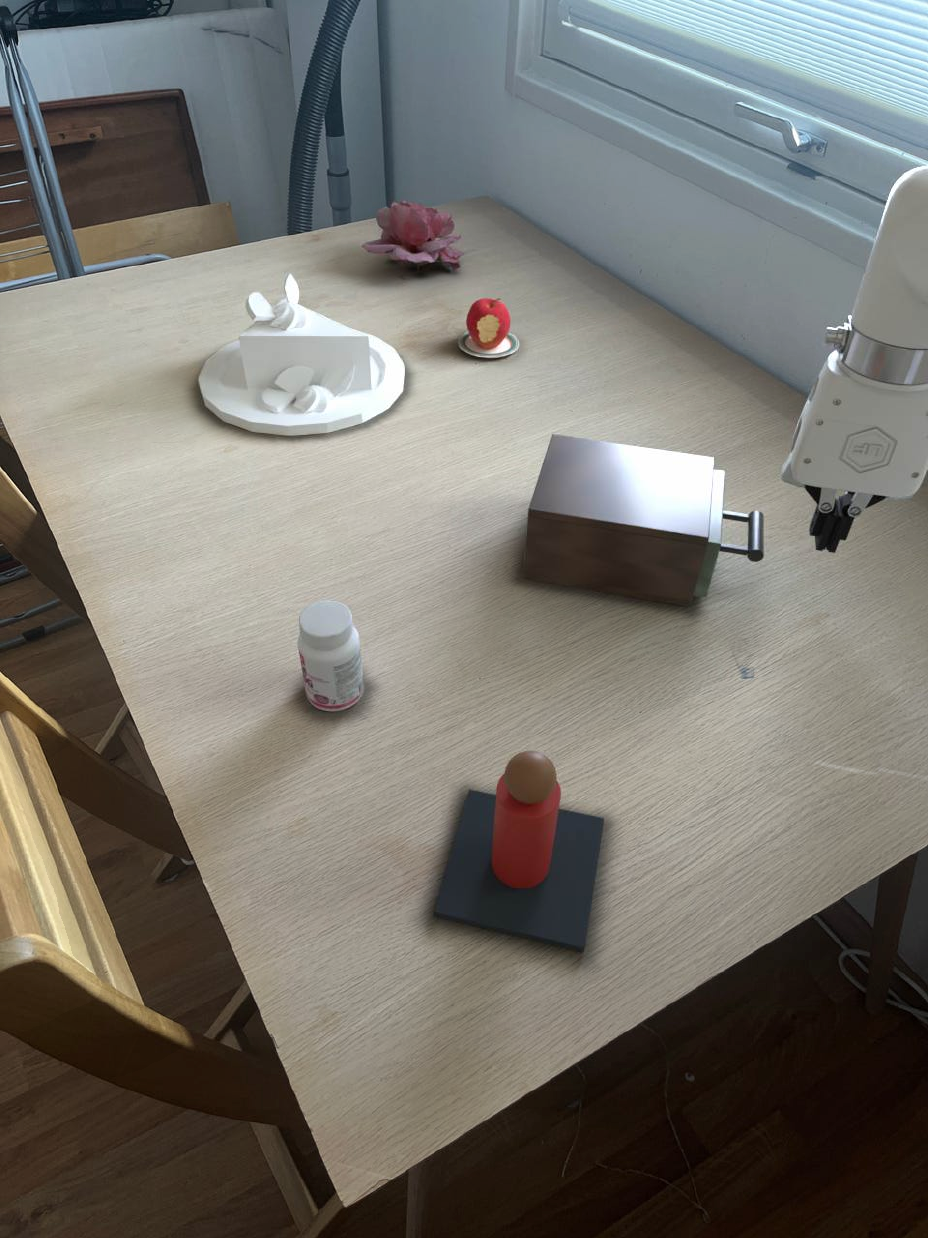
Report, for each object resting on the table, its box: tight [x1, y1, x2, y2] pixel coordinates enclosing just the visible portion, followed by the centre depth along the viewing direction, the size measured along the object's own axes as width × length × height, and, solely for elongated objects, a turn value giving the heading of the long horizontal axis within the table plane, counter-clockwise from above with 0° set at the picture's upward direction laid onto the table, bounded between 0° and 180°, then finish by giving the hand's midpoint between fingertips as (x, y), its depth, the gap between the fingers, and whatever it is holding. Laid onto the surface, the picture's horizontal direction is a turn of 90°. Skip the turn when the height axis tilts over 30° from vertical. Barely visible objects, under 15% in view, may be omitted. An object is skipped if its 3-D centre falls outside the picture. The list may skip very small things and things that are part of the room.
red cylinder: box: [491, 750, 562, 889], centre depth 56 cm, size 4×4×12 cm
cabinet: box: [522, 433, 715, 608], centre depth 83 cm, size 16×13×8 cm
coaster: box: [433, 789, 605, 953], centre depth 60 cm, size 10×10×1 cm
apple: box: [457, 297, 520, 359], centre depth 113 cm, size 8×8×6 cm
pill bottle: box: [297, 600, 365, 712], centre depth 69 cm, size 5×5×8 cm
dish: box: [197, 273, 406, 437], centre depth 104 cm, size 25×25×11 cm
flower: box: [361, 199, 465, 274], centre depth 130 cm, size 15×15×10 cm
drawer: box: [693, 468, 765, 599], centre depth 82 cm, size 19×11×6 cm, turn 76°
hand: (824, 541), depth 79 cm, fingers closed
